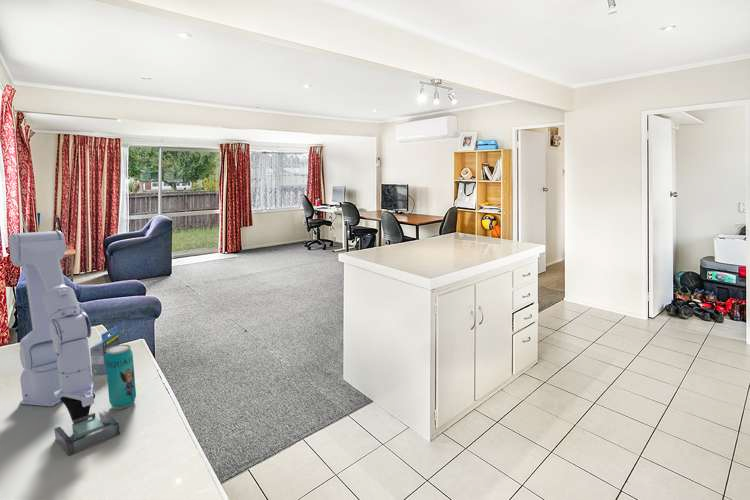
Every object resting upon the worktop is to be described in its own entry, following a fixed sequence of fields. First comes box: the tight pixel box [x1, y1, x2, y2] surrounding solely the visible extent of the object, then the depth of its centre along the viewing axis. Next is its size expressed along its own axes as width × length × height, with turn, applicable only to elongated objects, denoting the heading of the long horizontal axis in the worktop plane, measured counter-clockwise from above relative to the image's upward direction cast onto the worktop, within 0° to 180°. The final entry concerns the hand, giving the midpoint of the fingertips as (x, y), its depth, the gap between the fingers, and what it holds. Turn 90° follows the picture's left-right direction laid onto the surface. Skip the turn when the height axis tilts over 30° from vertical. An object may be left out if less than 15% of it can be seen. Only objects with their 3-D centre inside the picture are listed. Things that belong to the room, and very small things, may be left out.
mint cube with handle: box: [71, 412, 105, 439], centre depth 89 cm, size 6×4×4 cm
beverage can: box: [105, 344, 137, 410], centre depth 101 cm, size 6×6×15 cm
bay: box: [53, 409, 121, 457], centre depth 89 cm, size 9×10×2 cm
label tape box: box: [89, 325, 120, 376], centre depth 122 cm, size 9×4×12 cm, turn 6°
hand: (80, 424), depth 91 cm, fingers closed
